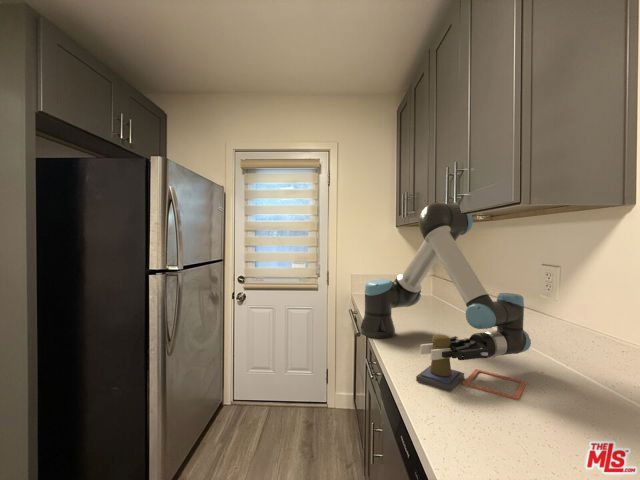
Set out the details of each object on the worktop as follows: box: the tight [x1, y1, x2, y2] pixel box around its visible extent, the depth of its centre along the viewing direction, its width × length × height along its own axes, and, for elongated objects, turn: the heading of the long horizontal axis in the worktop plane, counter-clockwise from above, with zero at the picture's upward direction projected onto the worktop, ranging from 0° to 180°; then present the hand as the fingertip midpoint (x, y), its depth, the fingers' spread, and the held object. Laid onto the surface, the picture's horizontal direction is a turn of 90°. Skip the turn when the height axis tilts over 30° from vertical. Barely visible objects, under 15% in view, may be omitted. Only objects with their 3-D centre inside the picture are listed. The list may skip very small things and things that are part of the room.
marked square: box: [462, 368, 528, 401], centre depth 97 cm, size 14×14×1 cm
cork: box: [430, 333, 452, 376], centre depth 99 cm, size 6×6×11 cm
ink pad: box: [415, 364, 465, 393], centre depth 99 cm, size 12×10×2 cm
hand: (426, 352), depth 97 cm, fingers closed on cork, 4 cm apart
